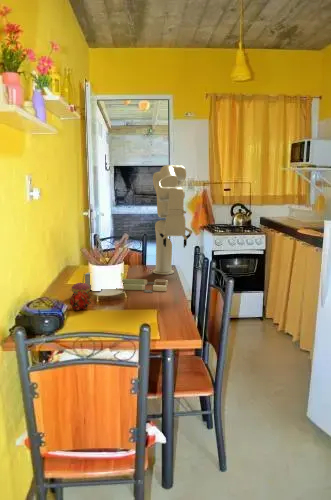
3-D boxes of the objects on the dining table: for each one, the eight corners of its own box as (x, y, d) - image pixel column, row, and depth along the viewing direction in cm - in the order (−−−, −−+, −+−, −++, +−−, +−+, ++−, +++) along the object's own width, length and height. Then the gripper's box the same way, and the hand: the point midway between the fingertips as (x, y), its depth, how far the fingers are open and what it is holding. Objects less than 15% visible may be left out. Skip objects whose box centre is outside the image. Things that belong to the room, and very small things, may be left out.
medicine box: (102, 289, 211) (102, 272, 209) (100, 292, 206) (100, 274, 205) (87, 289, 212) (87, 272, 210) (84, 291, 207) (84, 274, 206)
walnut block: (156, 286, 220) (156, 279, 219) (165, 287, 220) (165, 279, 219) (155, 289, 215) (155, 281, 214) (164, 289, 215) (165, 281, 214)
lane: (120, 283, 224) (120, 278, 224) (167, 285, 223) (167, 280, 223) (116, 289, 212) (116, 284, 212) (166, 291, 211) (166, 286, 211)
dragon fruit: (87, 308, 185) (77, 320, 174) (72, 296, 185) (60, 308, 174) (97, 294, 182) (87, 306, 171) (82, 283, 182) (70, 294, 171)
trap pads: (147, 282, 228) (147, 281, 228) (155, 282, 228) (155, 282, 228) (143, 292, 207) (143, 291, 207) (151, 292, 207) (151, 292, 207)
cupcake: (83, 294, 201) (83, 270, 199) (93, 298, 195) (93, 273, 193) (67, 297, 195) (67, 272, 193) (78, 301, 189) (77, 275, 187)
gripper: (193, 212, 212) (192, 246, 214) (159, 211, 213) (158, 245, 216) (193, 213, 204) (191, 248, 207) (157, 212, 206) (156, 247, 208)
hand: (174, 246), depth 211 cm, fingers open, 9 cm apart
